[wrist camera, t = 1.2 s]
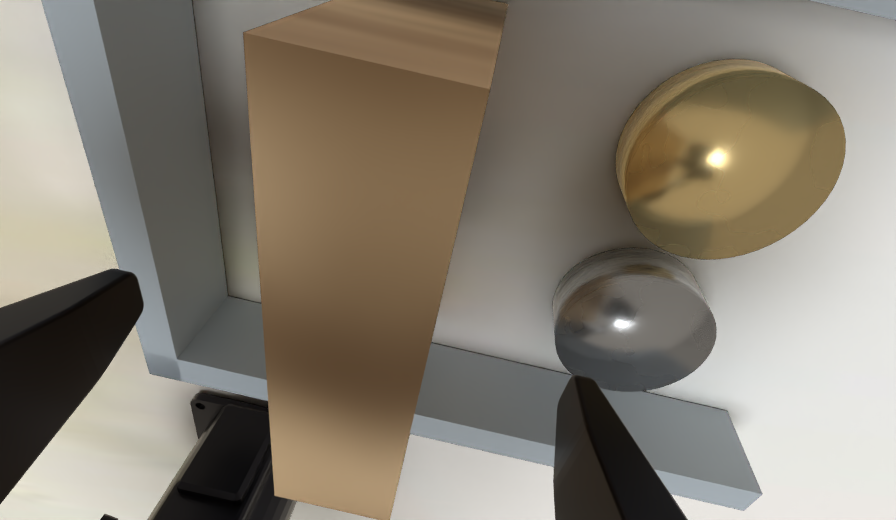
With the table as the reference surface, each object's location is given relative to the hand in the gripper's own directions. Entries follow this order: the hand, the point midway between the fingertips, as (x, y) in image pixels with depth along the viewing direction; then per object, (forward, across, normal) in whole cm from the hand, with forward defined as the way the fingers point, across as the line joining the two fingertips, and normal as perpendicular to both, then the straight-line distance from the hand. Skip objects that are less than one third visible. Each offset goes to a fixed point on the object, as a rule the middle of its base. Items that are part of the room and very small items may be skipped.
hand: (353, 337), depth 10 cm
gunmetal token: (+7, -8, +3) cm, 11 cm away
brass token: (+7, -8, -3) cm, 11 cm away
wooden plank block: (+7, 0, 0) cm, 7 cm away
